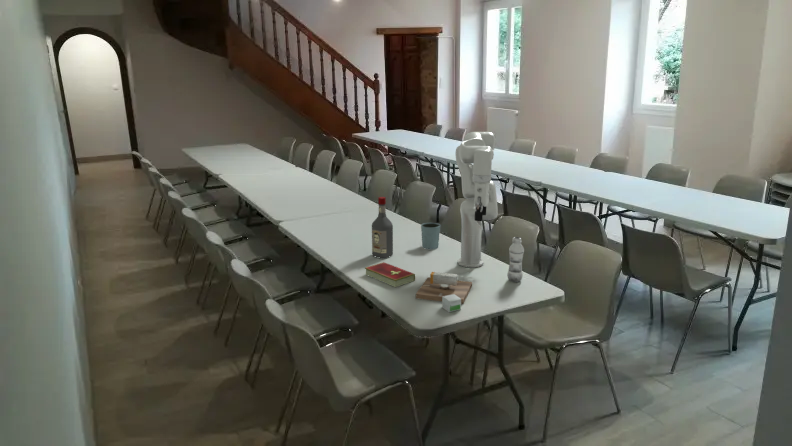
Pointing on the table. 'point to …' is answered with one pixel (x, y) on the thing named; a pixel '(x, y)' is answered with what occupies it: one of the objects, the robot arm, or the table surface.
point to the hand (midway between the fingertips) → (480, 217)
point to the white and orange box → (443, 279)
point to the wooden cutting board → (443, 291)
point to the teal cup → (430, 235)
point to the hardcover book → (390, 274)
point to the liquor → (382, 233)
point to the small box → (451, 303)
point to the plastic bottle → (515, 260)
